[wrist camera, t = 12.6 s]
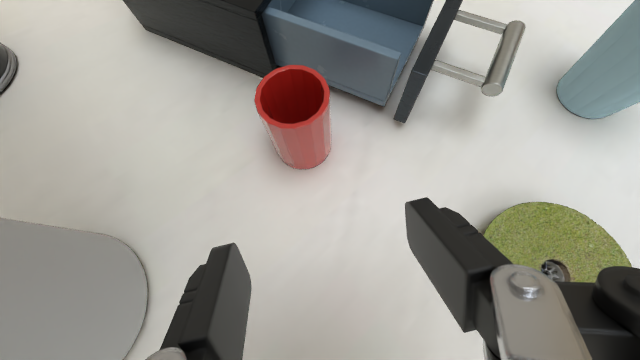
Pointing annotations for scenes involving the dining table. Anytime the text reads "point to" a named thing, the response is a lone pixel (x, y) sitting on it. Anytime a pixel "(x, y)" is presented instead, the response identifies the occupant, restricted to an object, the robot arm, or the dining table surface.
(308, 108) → the red tumbler
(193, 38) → the black drawer casing
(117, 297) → the cylinder vase
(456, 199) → the dining table surface
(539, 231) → the mat
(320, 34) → the dish drawer
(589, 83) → the cup
